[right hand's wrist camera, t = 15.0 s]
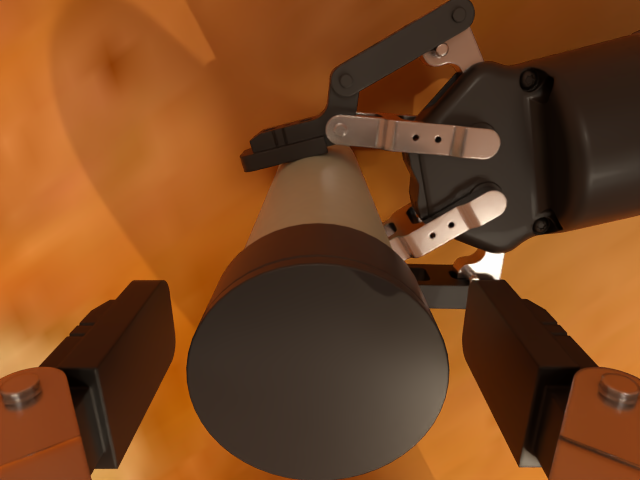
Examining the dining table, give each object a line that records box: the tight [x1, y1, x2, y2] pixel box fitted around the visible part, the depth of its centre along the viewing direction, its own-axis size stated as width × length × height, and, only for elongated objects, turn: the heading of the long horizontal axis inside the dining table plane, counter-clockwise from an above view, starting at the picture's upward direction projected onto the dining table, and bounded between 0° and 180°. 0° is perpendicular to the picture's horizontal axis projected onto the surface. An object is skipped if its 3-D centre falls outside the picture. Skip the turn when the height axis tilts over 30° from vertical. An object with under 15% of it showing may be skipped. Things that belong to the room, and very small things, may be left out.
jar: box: [245, 145, 393, 250], centre depth 18 cm, size 5×5×18 cm
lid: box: [186, 223, 449, 480], centre depth 10 cm, size 5×5×2 cm
